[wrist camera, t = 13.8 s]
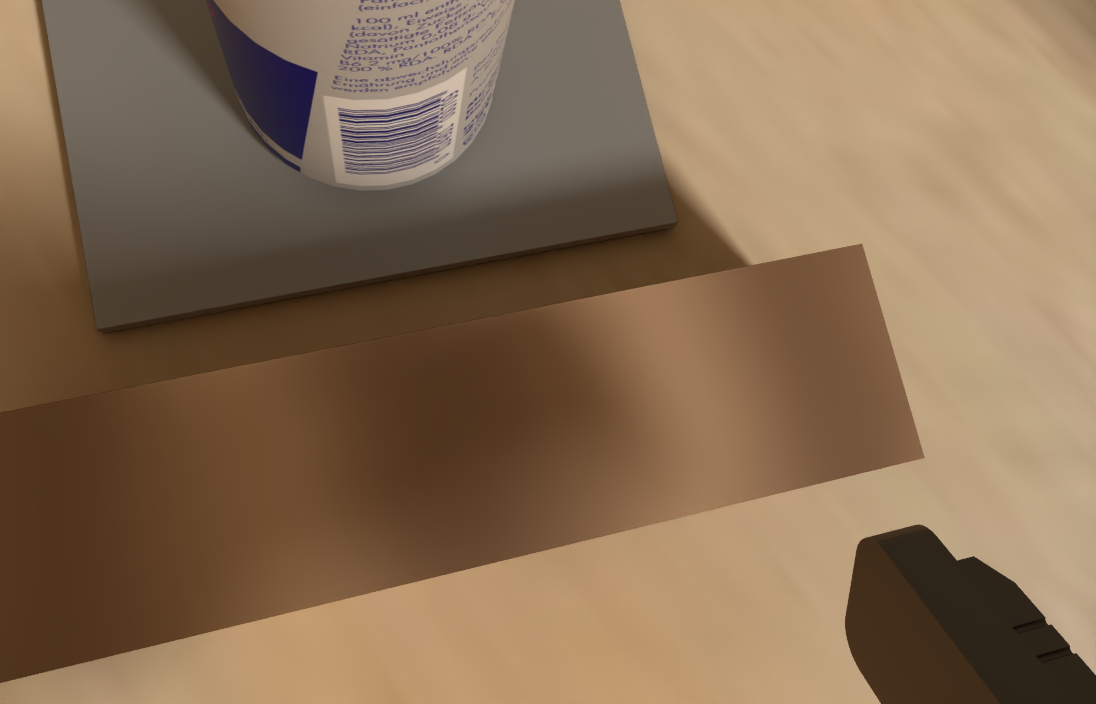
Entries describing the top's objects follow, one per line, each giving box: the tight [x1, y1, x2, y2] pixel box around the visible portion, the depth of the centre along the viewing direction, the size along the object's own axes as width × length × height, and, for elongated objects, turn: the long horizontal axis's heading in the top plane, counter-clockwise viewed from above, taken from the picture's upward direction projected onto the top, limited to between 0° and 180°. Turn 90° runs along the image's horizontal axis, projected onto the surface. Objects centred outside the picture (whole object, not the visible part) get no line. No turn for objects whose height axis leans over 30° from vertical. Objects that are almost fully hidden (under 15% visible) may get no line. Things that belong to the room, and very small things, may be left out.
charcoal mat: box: [42, 0, 678, 334], centre depth 22 cm, size 12×9×1 cm
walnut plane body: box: [0, 244, 924, 683], centre depth 19 cm, size 16×4×4 cm, turn 103°
